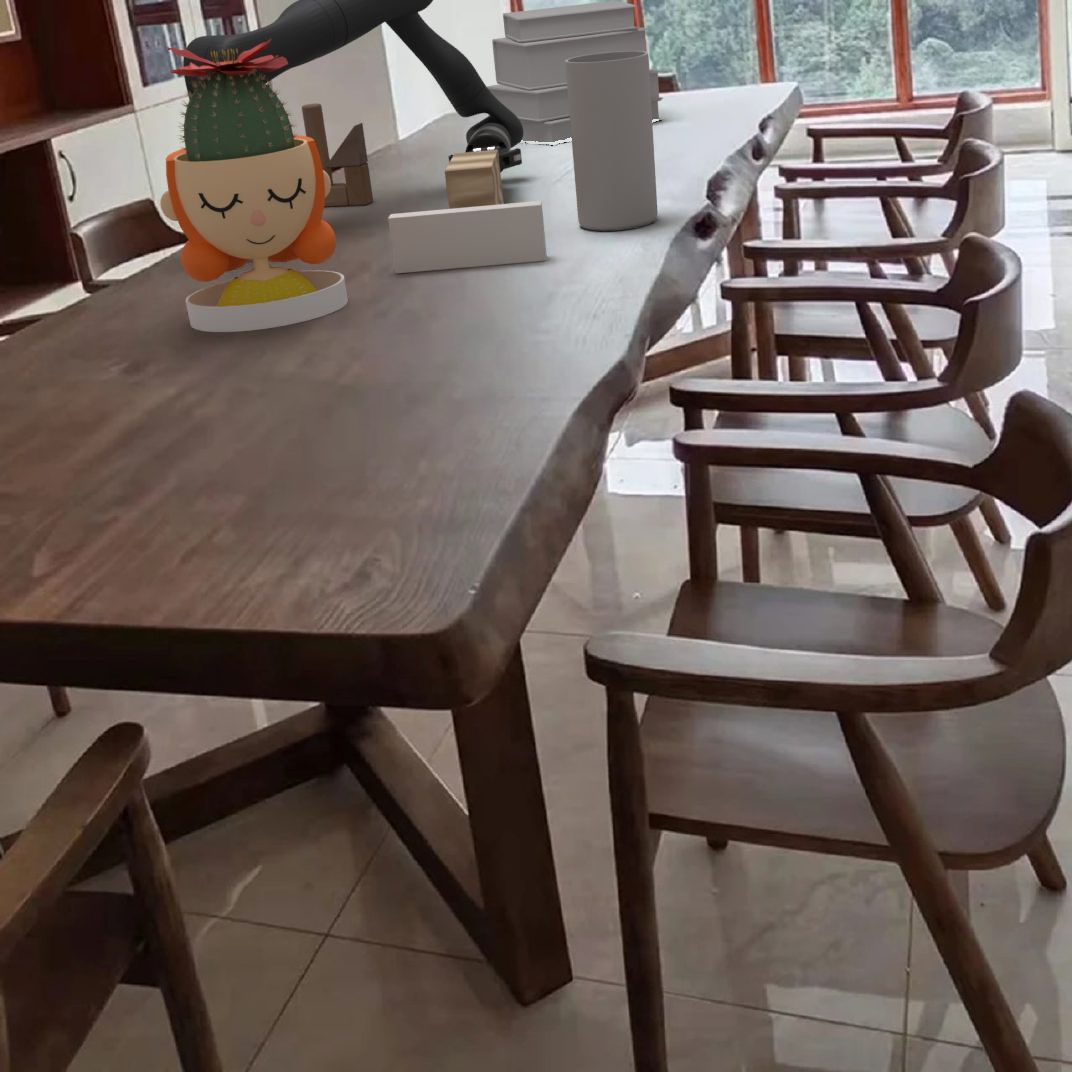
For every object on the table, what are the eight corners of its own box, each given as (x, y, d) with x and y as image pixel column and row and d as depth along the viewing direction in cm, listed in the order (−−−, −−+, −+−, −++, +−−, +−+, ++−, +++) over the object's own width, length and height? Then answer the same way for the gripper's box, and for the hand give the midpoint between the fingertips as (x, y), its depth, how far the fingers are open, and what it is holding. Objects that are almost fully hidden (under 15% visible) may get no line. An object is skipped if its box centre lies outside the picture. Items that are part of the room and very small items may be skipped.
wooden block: (366, 205, 254) (351, 103, 246) (312, 207, 257) (296, 107, 249) (374, 201, 257) (359, 100, 249) (321, 203, 260) (305, 103, 253)
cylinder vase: (615, 211, 228) (604, 51, 217) (674, 217, 219) (665, 50, 209) (562, 228, 220) (548, 62, 210) (621, 235, 211) (609, 62, 201)
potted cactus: (359, 312, 184) (317, 33, 170) (189, 341, 179) (131, 56, 165) (333, 279, 203) (293, 25, 189) (179, 304, 198) (126, 45, 184)
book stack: (474, 140, 314) (460, 19, 303) (591, 115, 333) (582, 0, 322) (559, 149, 292) (548, 19, 281) (679, 121, 311) (673, -2, 300)
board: (398, 268, 205) (390, 214, 202) (546, 255, 204) (541, 200, 200) (395, 273, 203) (387, 218, 199) (546, 260, 201) (540, 204, 198)
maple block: (463, 228, 228) (454, 153, 223) (505, 224, 227) (497, 149, 222) (454, 250, 213) (444, 171, 208) (499, 246, 212) (491, 167, 208)
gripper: (448, 132, 242) (438, 150, 227) (523, 125, 241) (519, 142, 226) (453, 176, 245) (444, 196, 230) (528, 168, 244) (524, 188, 229)
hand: (481, 169), depth 228 cm, fingers closed
